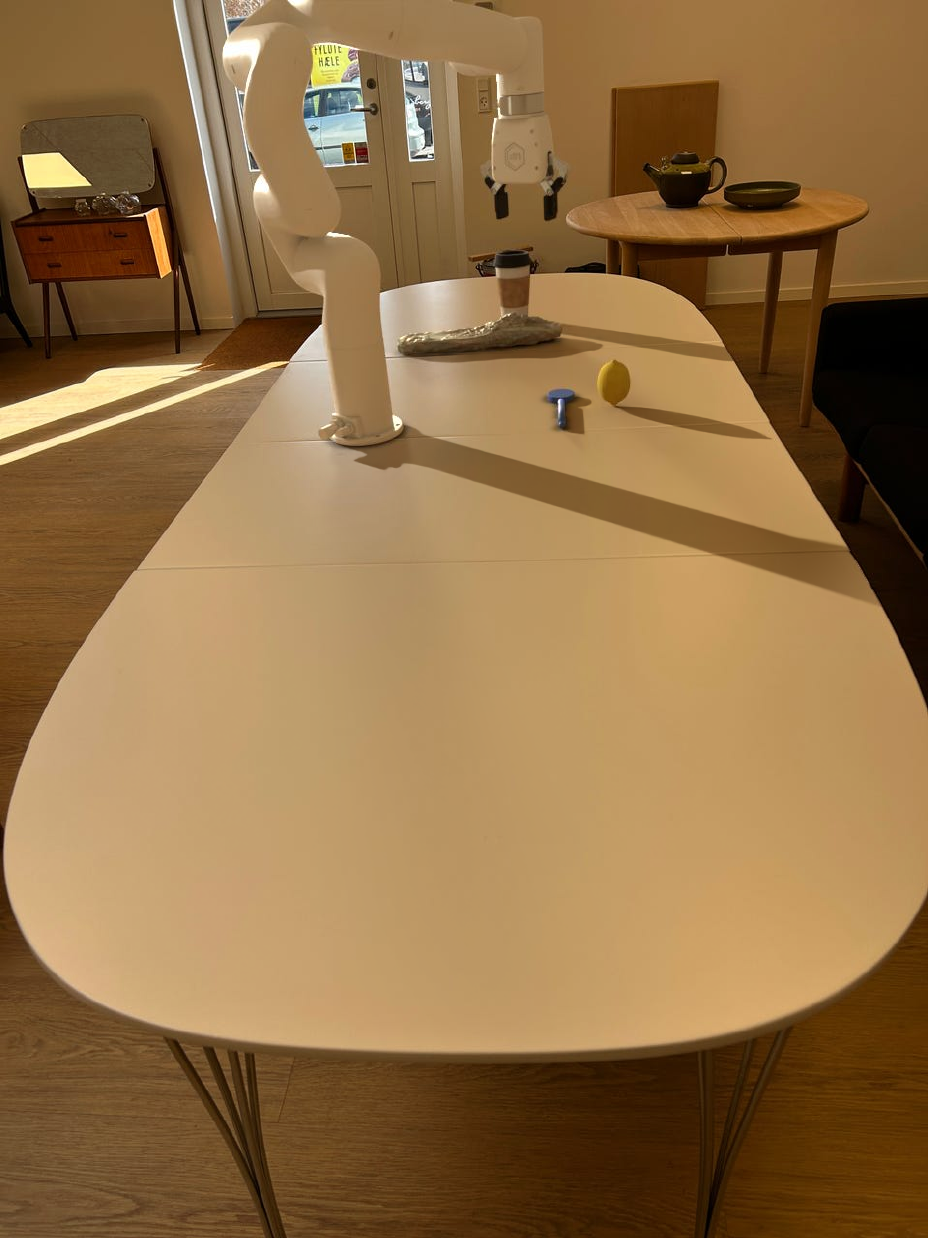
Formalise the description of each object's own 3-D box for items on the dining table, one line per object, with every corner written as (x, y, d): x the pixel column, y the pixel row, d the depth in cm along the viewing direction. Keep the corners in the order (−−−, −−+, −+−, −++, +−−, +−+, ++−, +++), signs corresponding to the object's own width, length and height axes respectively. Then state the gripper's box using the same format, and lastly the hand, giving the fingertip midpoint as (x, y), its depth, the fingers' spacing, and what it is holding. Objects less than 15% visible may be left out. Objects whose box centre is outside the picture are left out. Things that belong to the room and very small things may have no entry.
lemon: (629, 399, 163) (629, 353, 159) (630, 410, 158) (631, 363, 154) (597, 400, 164) (597, 355, 159) (598, 411, 159) (597, 365, 155)
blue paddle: (576, 428, 153) (576, 421, 152) (547, 430, 154) (547, 423, 153) (574, 393, 168) (574, 386, 167) (547, 394, 168) (547, 388, 168)
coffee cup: (492, 325, 210) (488, 255, 202) (502, 315, 217) (498, 247, 209) (528, 325, 208) (525, 255, 200) (537, 315, 214) (534, 246, 206)
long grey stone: (399, 351, 203) (399, 367, 195) (395, 327, 200) (394, 343, 192) (559, 328, 202) (565, 343, 194) (557, 303, 199) (563, 318, 191)
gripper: (465, 110, 154) (472, 221, 163) (556, 107, 145) (559, 224, 155) (489, 105, 159) (496, 213, 168) (579, 102, 150) (580, 215, 160)
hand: (526, 218), depth 161 cm, fingers open, 9 cm apart
